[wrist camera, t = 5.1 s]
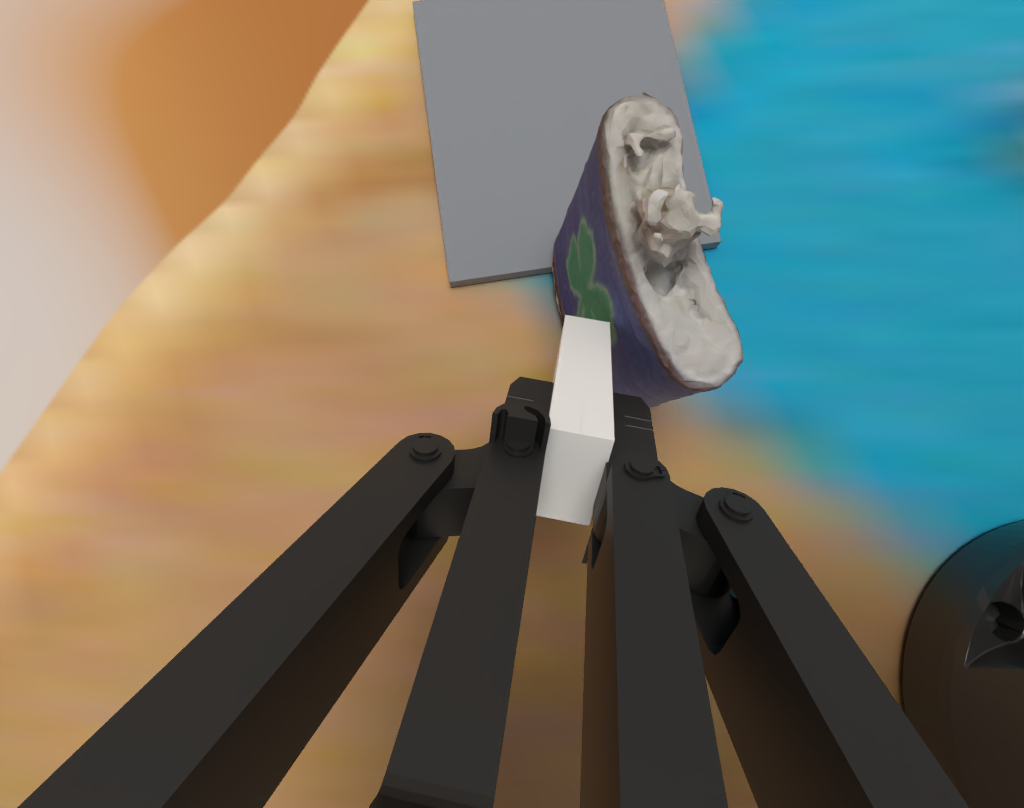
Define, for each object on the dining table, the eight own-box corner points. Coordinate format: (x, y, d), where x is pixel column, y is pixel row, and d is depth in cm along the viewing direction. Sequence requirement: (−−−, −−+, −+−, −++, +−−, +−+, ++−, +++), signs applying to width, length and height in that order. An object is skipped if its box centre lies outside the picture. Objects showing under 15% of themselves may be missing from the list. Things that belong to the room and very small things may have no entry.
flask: (649, 408, 22) (799, 366, 12) (589, 424, 22) (685, 395, 12) (596, 221, 23) (691, 23, 13) (537, 234, 23) (583, 44, 12)
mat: (716, 247, 24) (721, 241, 23) (451, 287, 24) (449, 282, 23) (652, -24, 26) (655, -36, 26) (415, 12, 26) (412, 1, 26)
